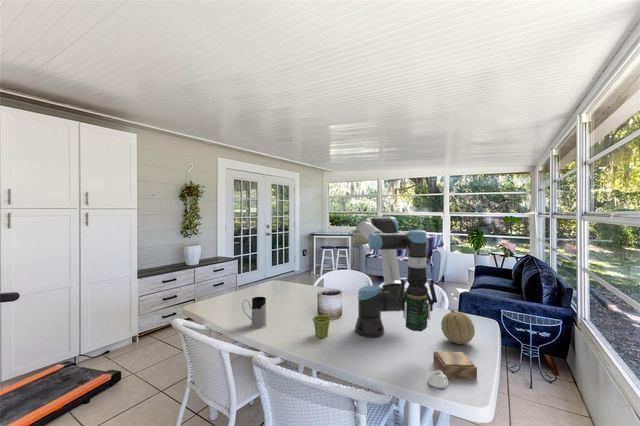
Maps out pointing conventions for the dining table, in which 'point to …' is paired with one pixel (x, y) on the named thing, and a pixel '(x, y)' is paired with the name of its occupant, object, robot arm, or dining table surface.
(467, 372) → the walnut pedestal block
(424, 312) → the coffee jar
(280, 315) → the dining table surface
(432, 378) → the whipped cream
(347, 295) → the dining table surface
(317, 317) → the plant pot
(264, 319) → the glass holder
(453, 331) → the cantaloupe
